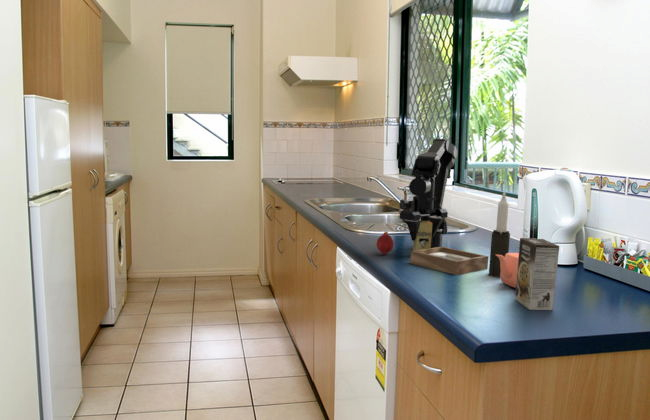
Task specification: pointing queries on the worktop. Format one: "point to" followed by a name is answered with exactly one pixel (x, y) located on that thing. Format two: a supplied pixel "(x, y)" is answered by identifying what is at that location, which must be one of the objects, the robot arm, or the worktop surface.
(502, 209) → the candle
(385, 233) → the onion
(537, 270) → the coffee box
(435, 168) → the robot arm
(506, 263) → the teapot
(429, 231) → the shoe polish box
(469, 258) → the walnut crate with socket plate
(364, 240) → the worktop surface
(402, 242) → the worktop surface
